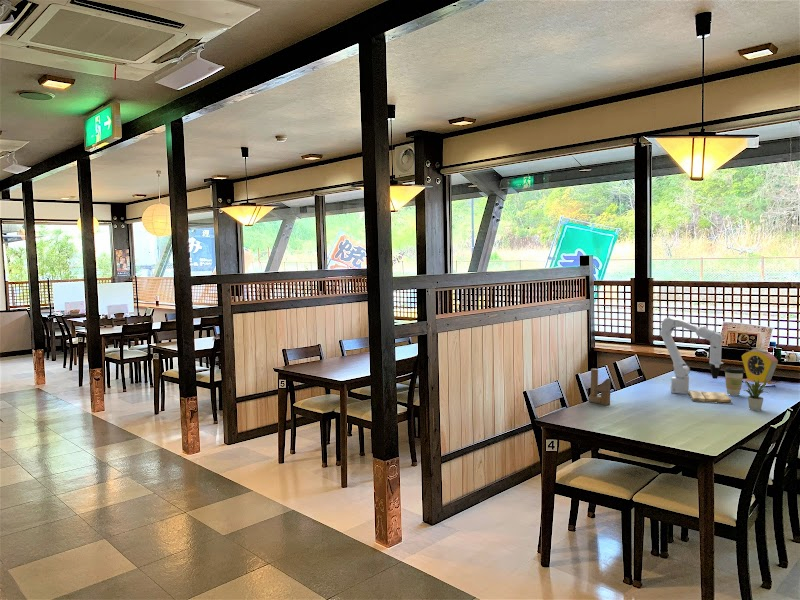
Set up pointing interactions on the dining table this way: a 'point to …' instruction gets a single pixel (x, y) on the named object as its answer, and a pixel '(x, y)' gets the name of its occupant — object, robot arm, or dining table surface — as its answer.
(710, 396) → the oak plank
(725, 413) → the dining table surface
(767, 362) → the yellow mantel clock
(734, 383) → the coffee cup
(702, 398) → the floor panel
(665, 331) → the robot arm
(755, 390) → the house plant
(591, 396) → the wooden block
